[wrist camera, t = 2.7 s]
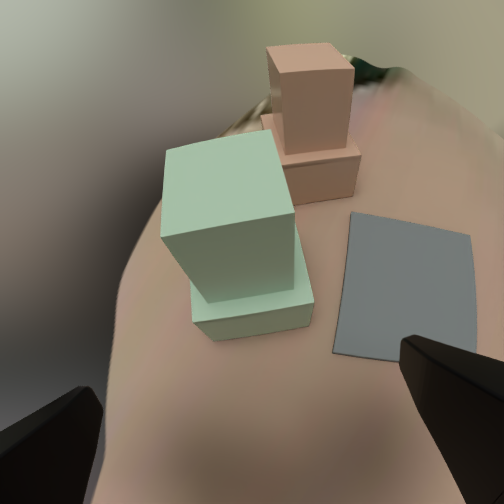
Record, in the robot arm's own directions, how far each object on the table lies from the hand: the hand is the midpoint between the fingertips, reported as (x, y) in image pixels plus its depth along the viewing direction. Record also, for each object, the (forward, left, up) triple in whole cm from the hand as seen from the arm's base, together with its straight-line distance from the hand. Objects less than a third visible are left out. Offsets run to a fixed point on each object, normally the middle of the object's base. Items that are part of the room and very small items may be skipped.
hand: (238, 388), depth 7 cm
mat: (-4, -13, -13) cm, 19 cm away
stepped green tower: (+6, -5, -13) cm, 16 cm away
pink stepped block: (+10, -17, -13) cm, 24 cm away
